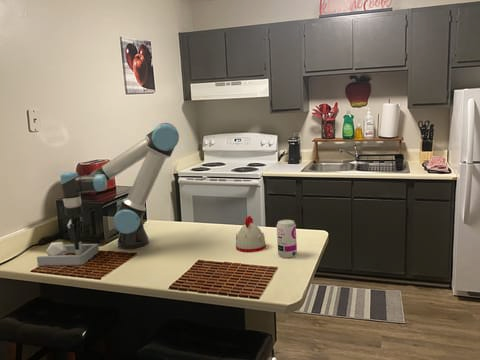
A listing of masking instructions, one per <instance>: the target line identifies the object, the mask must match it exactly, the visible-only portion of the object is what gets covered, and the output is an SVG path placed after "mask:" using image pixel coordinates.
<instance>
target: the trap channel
mask: <svg viewBox="0 0 480 360" xmlns="http://www.w3.org/2000/svg"><path fill="white" fill-rule="evenodd" d="M81 244H82V243H81ZM64 246H65V247H66V249H67V250H68V251H67V253H66V254H67V255H66V254H65V255H64V256H48V255H38V256H37V257H36V261H37V266H38V267H42V266H45V265H50V266H83V264H84V265H86V263H88V262H89V261H90V260H91V259H92V258H93V257H94V255H97V254H98V253H99V252H100V249H99V243H83V244H82V252H83V254H81V255H76V253H75V246H74V244H64ZM68 253H75V254H68ZM89 259H90V260H89ZM88 260H89V261H88Z"/></svg>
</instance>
